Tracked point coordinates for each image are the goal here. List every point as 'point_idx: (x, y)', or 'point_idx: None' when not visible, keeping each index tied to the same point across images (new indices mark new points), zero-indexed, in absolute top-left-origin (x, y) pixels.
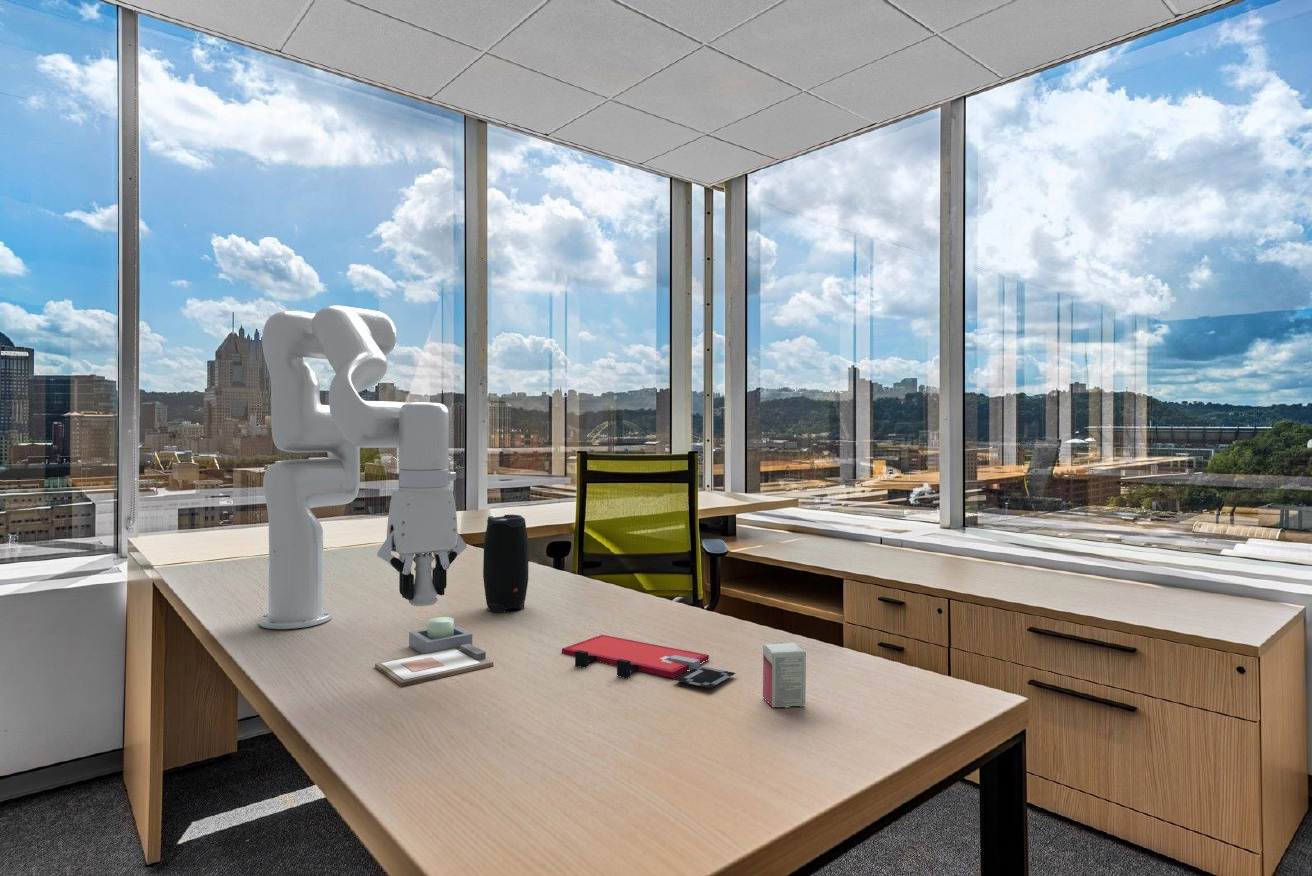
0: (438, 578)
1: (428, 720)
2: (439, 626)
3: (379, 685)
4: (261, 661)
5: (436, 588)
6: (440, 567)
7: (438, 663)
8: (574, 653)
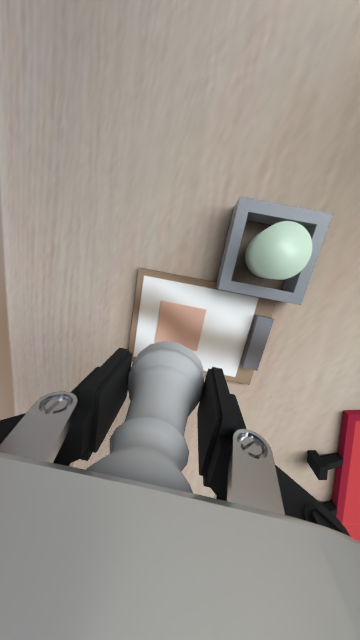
0: (201, 440)
1: (105, 443)
2: (260, 273)
3: (113, 334)
4: (20, 81)
5: (203, 401)
6: (213, 481)
7: (195, 340)
8: (344, 431)
